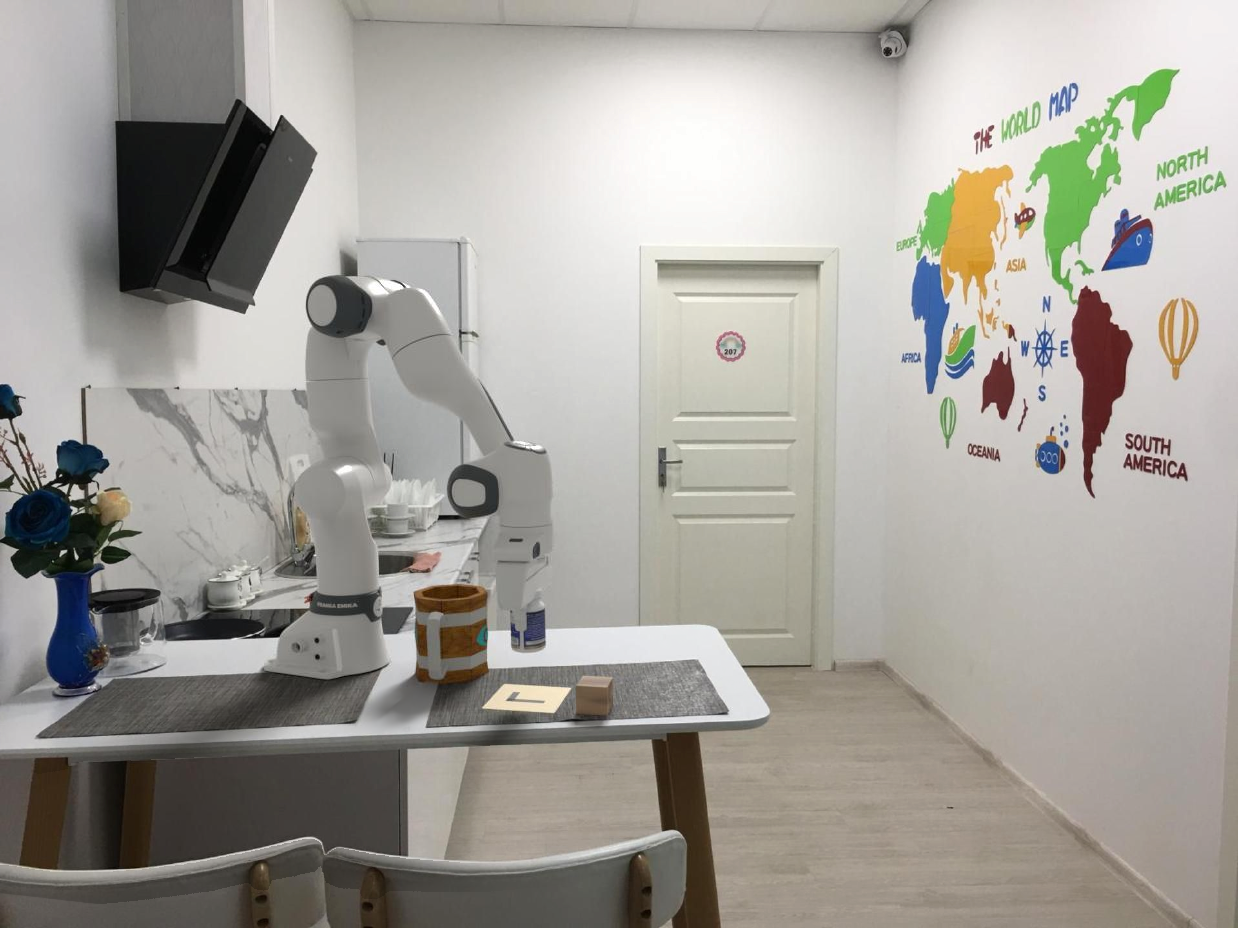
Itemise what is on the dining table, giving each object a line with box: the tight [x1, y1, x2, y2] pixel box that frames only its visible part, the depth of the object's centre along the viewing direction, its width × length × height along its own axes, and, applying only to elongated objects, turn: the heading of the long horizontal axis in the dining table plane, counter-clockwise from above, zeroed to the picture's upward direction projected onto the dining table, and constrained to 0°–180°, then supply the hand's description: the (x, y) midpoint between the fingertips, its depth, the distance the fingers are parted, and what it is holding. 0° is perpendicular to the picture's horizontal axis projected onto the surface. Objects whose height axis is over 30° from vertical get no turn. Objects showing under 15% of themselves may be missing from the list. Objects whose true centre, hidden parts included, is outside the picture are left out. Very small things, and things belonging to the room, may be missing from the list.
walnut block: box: [575, 675, 614, 716], centre depth 145 cm, size 5×5×5 cm
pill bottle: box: [509, 588, 547, 654], centre depth 149 cm, size 6×6×10 cm
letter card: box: [481, 683, 572, 714], centre depth 150 cm, size 12×12×1 cm
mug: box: [413, 583, 490, 685], centre depth 160 cm, size 20×14×15 cm
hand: (527, 624), depth 149 cm, fingers closed on pill bottle, 6 cm apart
